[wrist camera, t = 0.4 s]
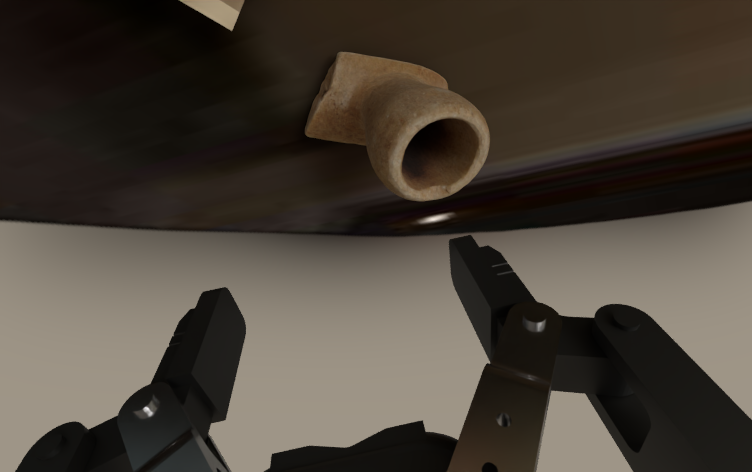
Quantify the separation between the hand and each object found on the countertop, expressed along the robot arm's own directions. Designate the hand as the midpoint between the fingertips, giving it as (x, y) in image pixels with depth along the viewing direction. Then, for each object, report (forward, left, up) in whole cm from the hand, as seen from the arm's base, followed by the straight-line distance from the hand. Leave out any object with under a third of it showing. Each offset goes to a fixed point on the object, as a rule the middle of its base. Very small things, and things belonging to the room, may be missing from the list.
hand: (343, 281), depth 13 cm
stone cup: (+11, -2, -30) cm, 32 cm away
